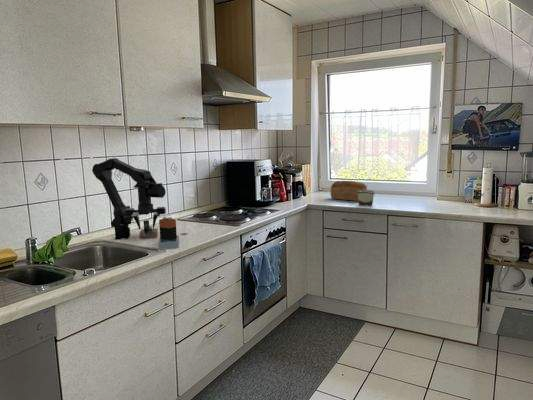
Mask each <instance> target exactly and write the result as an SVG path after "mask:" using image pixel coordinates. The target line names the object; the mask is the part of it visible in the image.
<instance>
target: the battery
mask: <svg viewBox="0 0 533 400" xmlns="http://www.w3.org/2000/svg"><path fill="white" fill-rule="evenodd" d="M158 225H159V238H160V239H164V240H173V239H176V238H177V235H178V234H177V233H178V232H177V220H176V219H175V218H173V217H170V216H169V217H167V216H166V217H165V216H163V217H162V218H161V219H159V220H158Z"/></svg>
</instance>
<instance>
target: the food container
mask: <svg viewBox="0 0 533 400" xmlns="http://www.w3.org/2000/svg"><path fill="white" fill-rule="evenodd" d="M357 194H358V201H357V202H358V206H363V205H368V206H367V207H372V206H373V204H374V203H373V202H374V196H375V191H374V190H369V189H367V190H360V191H358V192H357Z"/></svg>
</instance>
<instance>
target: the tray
mask: <svg viewBox="0 0 533 400" xmlns="http://www.w3.org/2000/svg"><path fill="white" fill-rule="evenodd" d="M179 243H180V236H179V234H177V238H176V239H173V240H164V239H160V237H159V239H158V242H157V244H158V245H157V246H158V247H157V248H158V250H167V249H178V248H179V246H180V245H179Z"/></svg>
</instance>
